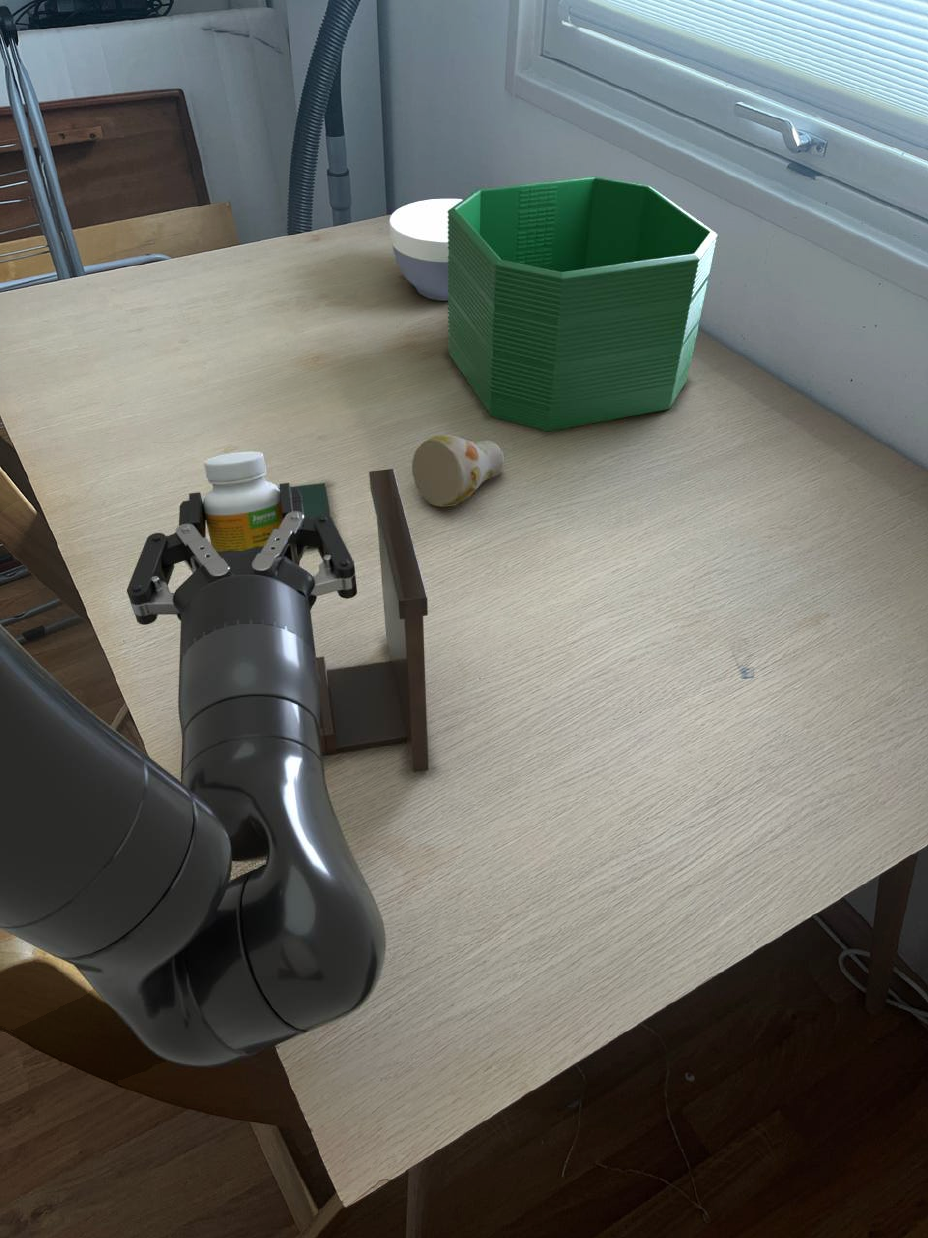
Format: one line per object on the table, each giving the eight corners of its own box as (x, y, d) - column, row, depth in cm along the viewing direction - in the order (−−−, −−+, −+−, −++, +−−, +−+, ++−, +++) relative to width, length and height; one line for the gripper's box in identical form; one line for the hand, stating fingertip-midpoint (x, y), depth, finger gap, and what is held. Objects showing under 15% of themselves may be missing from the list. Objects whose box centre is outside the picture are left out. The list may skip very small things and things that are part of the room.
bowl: (474, 320, 120) (475, 250, 113) (372, 298, 124) (367, 229, 118) (519, 276, 130) (523, 209, 123) (423, 257, 135) (422, 191, 128)
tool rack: (230, 803, 64) (175, 631, 52) (227, 665, 74) (180, 492, 62) (432, 769, 67) (427, 597, 54) (403, 640, 76) (393, 468, 64)
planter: (505, 440, 99) (513, 282, 86) (435, 336, 116) (433, 192, 103) (708, 403, 105) (744, 249, 92) (613, 309, 122) (632, 170, 110)
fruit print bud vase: (523, 479, 94) (511, 434, 84) (456, 539, 93) (435, 501, 84) (478, 436, 96) (461, 388, 87) (412, 494, 96) (387, 452, 86)
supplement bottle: (269, 606, 60) (241, 466, 57) (207, 602, 62) (176, 467, 59) (312, 578, 65) (288, 447, 61) (252, 575, 67) (226, 449, 63)
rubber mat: (230, 558, 84) (230, 555, 84) (228, 497, 91) (228, 493, 91) (335, 545, 86) (334, 542, 85) (325, 485, 93) (325, 482, 92)
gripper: (373, 610, 47) (340, 440, 59) (96, 647, 45) (120, 463, 57) (381, 700, 53) (349, 528, 65) (133, 737, 50) (147, 552, 62)
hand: (241, 498), depth 61 cm, fingers closed on supplement bottle, 5 cm apart
